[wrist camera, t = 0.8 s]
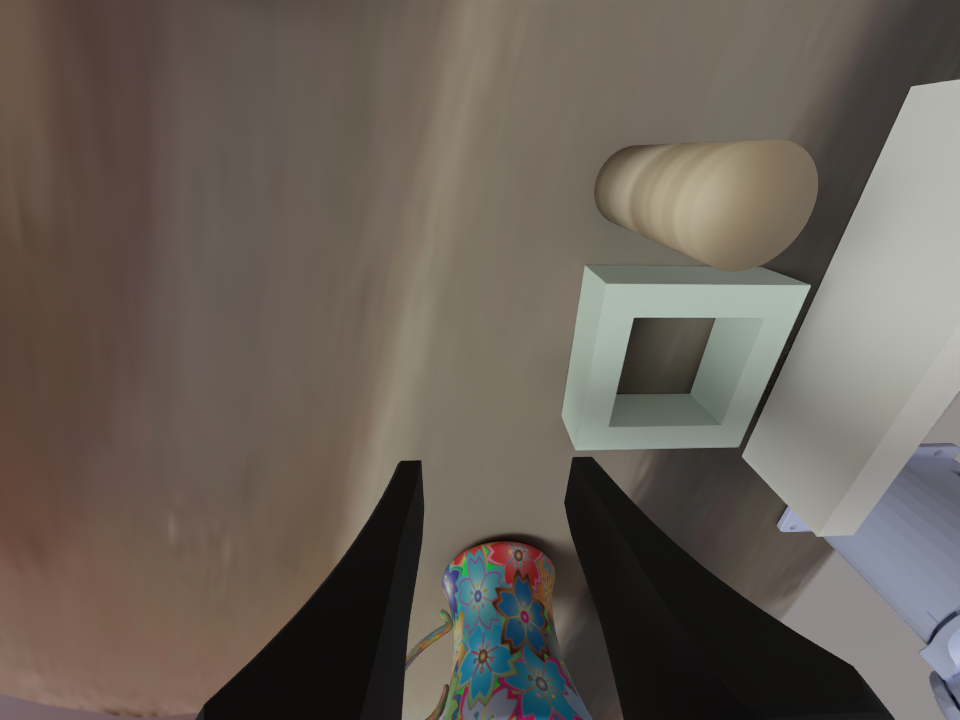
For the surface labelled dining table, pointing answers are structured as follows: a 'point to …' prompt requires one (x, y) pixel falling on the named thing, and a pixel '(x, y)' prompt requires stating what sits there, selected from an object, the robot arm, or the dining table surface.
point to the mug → (503, 639)
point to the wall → (874, 332)
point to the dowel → (712, 197)
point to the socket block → (723, 369)
